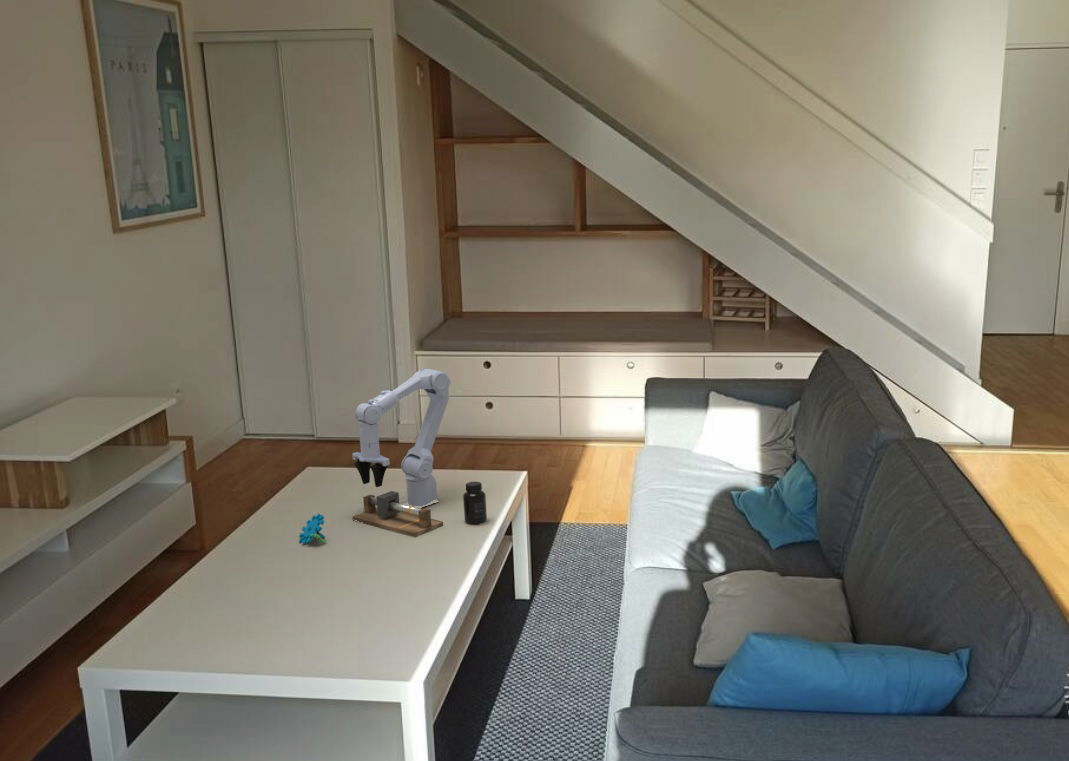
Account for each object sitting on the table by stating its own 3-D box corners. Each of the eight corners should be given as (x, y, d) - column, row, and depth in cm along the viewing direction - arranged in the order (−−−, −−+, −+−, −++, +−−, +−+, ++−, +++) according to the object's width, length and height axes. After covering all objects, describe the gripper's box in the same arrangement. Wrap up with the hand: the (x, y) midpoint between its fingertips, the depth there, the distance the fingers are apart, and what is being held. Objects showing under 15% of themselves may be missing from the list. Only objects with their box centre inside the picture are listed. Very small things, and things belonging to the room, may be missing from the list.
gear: (294, 532, 296) (317, 506, 296) (309, 542, 299) (331, 517, 299) (301, 549, 286) (324, 523, 286) (316, 559, 289) (339, 533, 289)
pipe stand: (381, 509, 318) (379, 490, 317) (443, 525, 302) (442, 504, 301) (352, 520, 309) (351, 500, 308) (415, 537, 293) (413, 516, 292)
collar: (393, 510, 311) (391, 490, 309) (399, 512, 309) (398, 492, 308) (377, 516, 306) (376, 496, 305) (384, 518, 304) (383, 498, 303)
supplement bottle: (488, 517, 307) (486, 480, 305) (485, 525, 301) (483, 487, 298) (466, 517, 308) (464, 480, 306) (462, 525, 302) (460, 487, 299)
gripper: (343, 442, 308) (346, 484, 311) (376, 448, 299) (379, 492, 302) (360, 436, 314) (363, 478, 316) (393, 443, 305) (396, 486, 308)
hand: (372, 484), depth 310 cm, fingers open, 5 cm apart
